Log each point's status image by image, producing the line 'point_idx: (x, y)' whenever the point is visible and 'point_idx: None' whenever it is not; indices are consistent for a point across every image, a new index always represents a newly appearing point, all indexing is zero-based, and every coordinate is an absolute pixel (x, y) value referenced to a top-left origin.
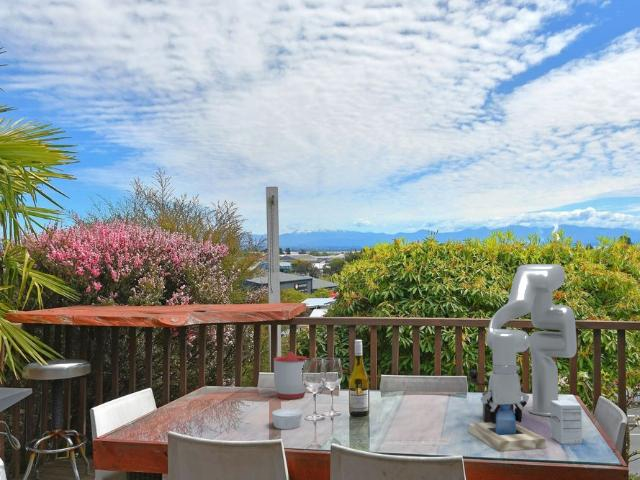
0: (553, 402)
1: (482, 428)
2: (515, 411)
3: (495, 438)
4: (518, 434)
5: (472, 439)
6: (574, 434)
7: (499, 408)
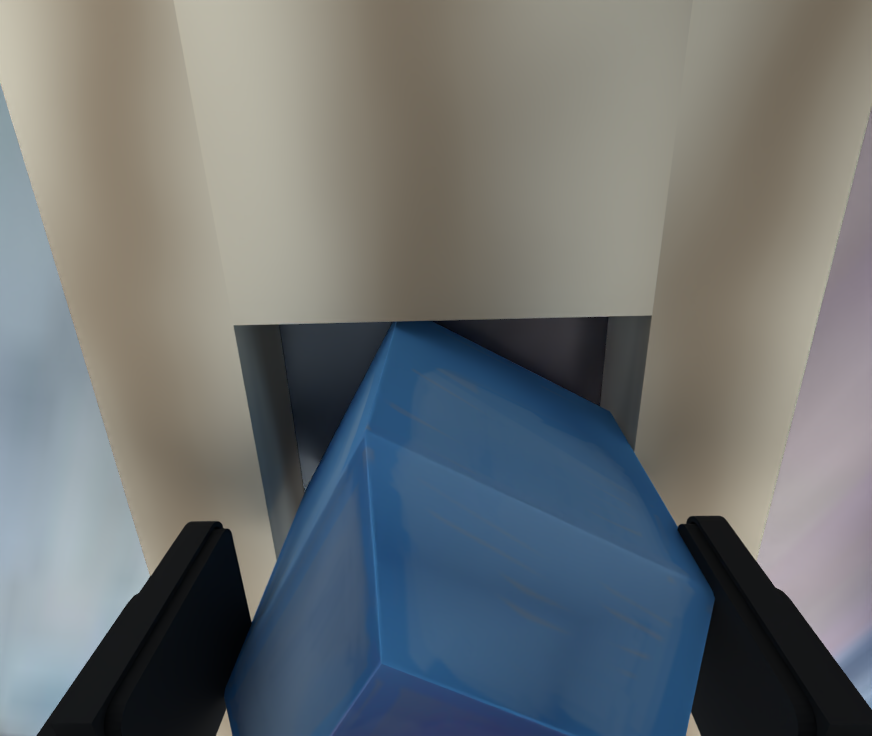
0: None
1: (160, 336)
2: (758, 686)
3: None
4: None
5: (75, 350)
6: None
7: (362, 699)
